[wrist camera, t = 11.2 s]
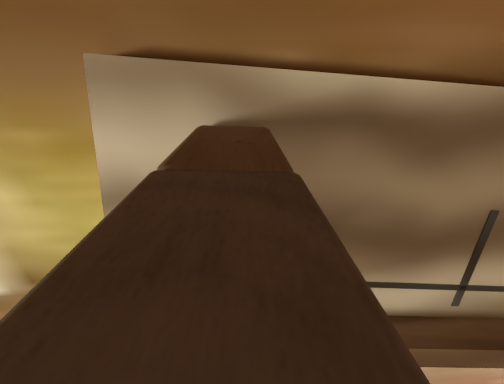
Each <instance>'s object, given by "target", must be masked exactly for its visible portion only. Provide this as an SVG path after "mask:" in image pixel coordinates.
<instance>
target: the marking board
mask: <svg viewBox="0 0 504 384" xmlns="http://www.w3.org/2000/svg"><path fill="white" fill-rule="evenodd" d="M83 60H84V67H85V75H86V82H87V90H88V98H89V105H90V113H91V120H92V128H93V135H94V143H95V150H96V158H97V165H98V173H99V180H100V188H101V196H102V203H103V211H104V218H105V217H106V216H107V215H108V214H109V213H110V212H111V211H112V210H113V209H114V208H115V207H116V206H117V205H118V204H119V203H120V202H121V201H122V200H123V199H124V198H125V197H126V196H127V195H128V194H129V193H130V192H131V191H132V190H133V189H134V188H135V187H136V186H137V185H138V184H139V183H140V182H141V181H142V180H143V179H144V178H145V177H146V176H147V175H148V174H149V173H150V172H153V171H155V170H157V168H158V166H159V165H160V164H161V163H162V162H163V161H164V160H165V159H166V158H167V157H168V156H169V155H170V154H171V153H172V152H173V151H174V150H175V149H176V148H177V147H178V146H179V145H180V144H181V143H182V142H183V141H184V140H185V139H186V138H187V137H188V136H189V135H190V134H191V133H192V132H193V131H194V130H195V129H196V128H197V127H199V126H202V125H212V126H250V127H265V128H268V129H269V130H270V131H271V133H272V135H273V136H274V138H275V140H276V141H277V143H278V145H279V147H280V148H281V150H282V152H283V153H284V155H285V157H286V159H287V160H288V162H289V164H290V165H291V167H292V169H293V172H294V173H296V174H298V175H300V176H301V178H302V179H303V181H304V183H305V184H306V186H307V187H308V189H309V191H310V192H311V194H312V195H313V197H314V199H315V200H316V202H317V203H318V205H319V207H320V208H321V210H322V211H323V213H324V215H325V216H326V218H327V219H328V221H329V223H330V224H331V226H332V227H333V229H334V231H335V232H336V234H337V235H338V237H339V239H340V240H341V242H342V243H343V245H344V247H345V248H346V250H347V251H348V253H349V255H350V256H351V258H352V259H353V261H354V263H355V264H356V266H357V267H358V269H359V271H360V272H361V274H362V275H363V277H364V279H365V280H366V282H367V283H368V285H369V287H370V288H371V290H372V291H373V293H374V295H375V296H376V298H377V299H378V301H379V303H380V304H381V306H382V307H383V309H384V311H385V312H386V314H387V315H388V317H389V319H390V320H391V322H392V324H393V325H394V327H395V328H396V330H397V332H398V333H399V335H400V336H401V338H402V340H403V341H404V343H405V344H406V346H407V348H408V349H409V351H410V352H411V354H412V356H413V357H414V359H415V360H416V362H417V364H418V365H419V367H455V368H504V87H498V86H486V85H473V84H461V83H448V82H436V81H424V80H411V79H399V78H387V77H374V76H362V75H349V74H337V73H325V72H312V71H300V70H288V69H275V68H263V67H250V66H238V65H226V64H213V63H201V62H189V61H176V60H164V59H151V58H139V57H127V56H114V55H102V54H90V53H83Z"/></svg>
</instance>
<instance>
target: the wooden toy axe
mask: <svg viewBox="0 0 504 384" xmlns="http://www.w3.org/2000/svg"><path fill="white" fill-rule="evenodd" d="M0 384H430V383H429V381H428V380H427V378H426V376H425V375H424V373H423V372H422V370H421V368H420V367H419V365H418V364H417V362H416V360H415V359H414V357H413V356H412V354H411V352H410V351H409V349H408V348H407V346H406V344H405V343H404V341H403V340H402V338H401V336H400V335H399V333H398V332H397V330H396V328H395V327H394V325H393V324H392V322H391V320H390V319H389V317H388V315H387V314H386V312H385V311H384V309H383V307H382V306H381V304H380V303H379V301H378V299H377V298H376V296H375V295H374V293H373V291H372V290H371V288H370V287H369V285H368V283H367V282H366V280H365V279H364V277H363V275H362V274H361V272H360V271H359V269H358V267H357V266H356V264H355V263H354V261H353V259H352V258H351V256H350V255H349V253H348V251H347V250H346V248H345V247H344V245H343V243H342V242H341V240H340V239H339V237H338V235H337V234H336V232H335V231H334V229H333V227H332V226H331V224H330V223H329V221H328V219H327V218H326V216H325V215H324V213H323V211H322V210H321V208H320V207H319V205H318V203H317V202H316V200H315V199H314V197H313V195H312V194H311V192H310V191H309V189H308V187H307V186H306V184H305V183H304V181H303V179H302V178H301V176H300V175H298V174H296V173H294V172H293V169H292V167H291V165H290V164H289V162H288V160H287V159H286V157H285V155H284V153H283V152H282V150H281V148H280V147H279V145H278V143H277V141H276V140H275V138H274V136H273V135H272V133H271V131H270V130H269V129H268V128H265V127H250V126H212V125H202V126H199V127H197V128H196V129H195V130H194V131H193V132H192V133H191V134H190V135H189V136H188V137H187V138H186V139H185V140H184V141H183V142H182V143H181V144H180V145H179V146H178V147H177V148H176V149H175V150H174V151H173V152H172V153H171V154H170V155H169V156H168V157H167V158H166V159H165V160H164V161H163V162H162V163H161V164H160V165H159V166H158V168H157V170H155V171H153V172H150V173H149V174H148V175H147V176H146V177H145V178H144V179H143V180H142V181H141V182H140V183H139V184H138V185H137V186H136V187H135V188H134V189H133V190H132V191H131V192H130V193H129V194H128V195H127V196H126V197H125V198H124V199H123V200H122V201H121V202H120V203H119V204H118V205H117V206H116V207H115V208H114V209H113V210H112V211H111V212H110V213H109V214H108V215H107V216H106V217H105V218H104V219H103V220H102V221H101V222H100V223H99V224H98V225H97V226H96V227H95V228H94V229H93V230H92V231H90V232H89V233H88V234H87V235H86V236H85V237H84V238H83V239H82V240H81V241H80V242H79V243H78V244H77V245H76V246H75V247H74V248H73V249H72V250H71V251H70V252H69V253H68V254H67V255H66V256H65V257H64V258H63V259H62V260H61V261H60V262H59V263H58V264H57V265H56V266H55V267H54V268H53V269H52V270H51V271H50V272H49V273H48V274H47V275H46V276H45V277H44V278H43V279H42V280H41V281H40V282H39V283H38V284H37V285H36V286H35V287H34V288H33V289H32V290H31V291H30V292H29V293H28V294H27V295H26V296H25V297H24V298H23V299H22V300H21V301H20V302H19V303H18V304H17V305H15V306H14V307H13V308H12V309H11V310H10V311H9V312H8V313H7V314H6V315H5V316H4V317H3V318H2V319H1V320H0Z"/></svg>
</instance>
